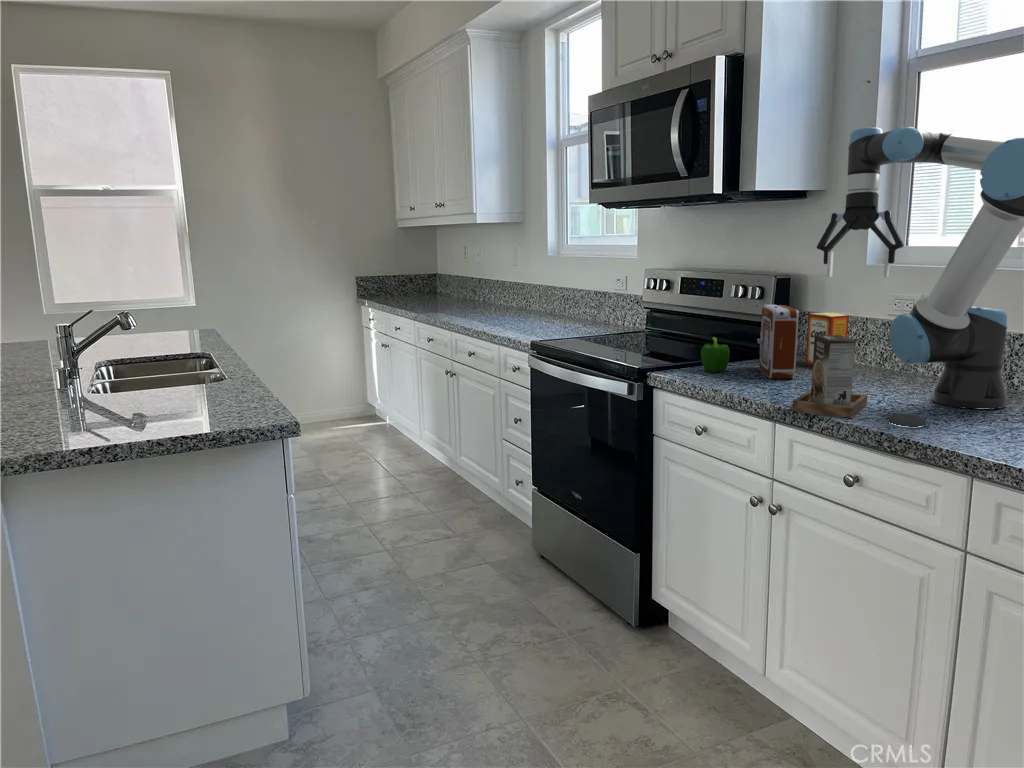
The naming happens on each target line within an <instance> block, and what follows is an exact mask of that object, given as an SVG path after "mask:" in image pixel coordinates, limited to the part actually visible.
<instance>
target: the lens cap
mask: <svg viewBox="0 0 1024 768" xmlns="http://www.w3.org/2000/svg"><path fill="white" fill-rule="evenodd" d="M889 422H890V423H893V424H896V425H901V426H909V427H918V426H923V425H925V426H926V423H927V422H926V418H923V417H922V416H919V415H914V414H903V413H893V414H890V415H889V416H888V423H889Z"/></svg>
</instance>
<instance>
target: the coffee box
mask: <svg viewBox="0 0 1024 768" xmlns="http://www.w3.org/2000/svg"><path fill="white" fill-rule="evenodd" d="M814 336H815V338H814V355H813V366H812V375H811V388H810V389H811V401H813V402H816V403H824V404H833V405H841V406H850V404H851V393H853V392H852V389H853V388H852V387H853V377H854V368H855V356H856V343H857V341H856V340H855V339H851V338H849V337H848V336H847V337H844V336H842V335H814Z"/></svg>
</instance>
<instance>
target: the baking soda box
mask: <svg viewBox="0 0 1024 768" xmlns="http://www.w3.org/2000/svg"><path fill="white" fill-rule="evenodd" d="M807 316H808V317H807V331H806V332H807V334H806V344H805V345H806V346H805V347H806V348H805V361H804V363H805V365H809V366H812V367H813V355H814V338H815V336H814V335H842V336H844V337H847V338H848V335H849V334H848V332H849V331H848V330H849V318H850V317H849V316H850V315H849V314H848V315H847V314H842V313H836V312H834V313H833V312H825V311H824V312H811V313H808V315H807Z"/></svg>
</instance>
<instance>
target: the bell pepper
mask: <svg viewBox="0 0 1024 768" xmlns="http://www.w3.org/2000/svg"><path fill="white" fill-rule="evenodd" d="M711 340H712V341H713V344H712V343H705V344H704V345H703V346H702V347H701V349H700V358H701V364H702V368H703V369H704V370H705V372H709V373H716V372H717V373H718V372H719V373H720V372H721V373H723V372H725V371H726V370H727V367H728V364H729V360H730V356H731V353H730V352H731V350H730V348H729V346H728V345H729V344H723V343H722V344H719V343H718V338H717V337H715V336H712V338H711Z"/></svg>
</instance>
